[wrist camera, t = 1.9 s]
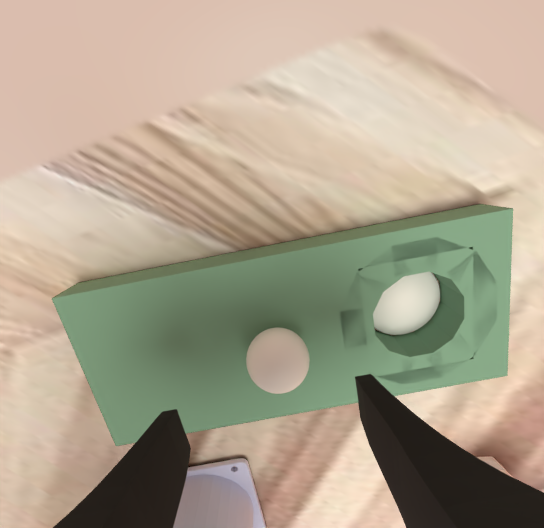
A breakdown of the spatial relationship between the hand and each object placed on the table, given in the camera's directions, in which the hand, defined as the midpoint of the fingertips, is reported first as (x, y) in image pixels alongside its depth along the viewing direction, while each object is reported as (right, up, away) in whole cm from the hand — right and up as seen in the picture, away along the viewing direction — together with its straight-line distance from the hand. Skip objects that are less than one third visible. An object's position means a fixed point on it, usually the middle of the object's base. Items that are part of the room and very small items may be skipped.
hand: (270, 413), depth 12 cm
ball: (0, +1, +3) cm, 4 cm away
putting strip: (+1, +2, +7) cm, 8 cm away
